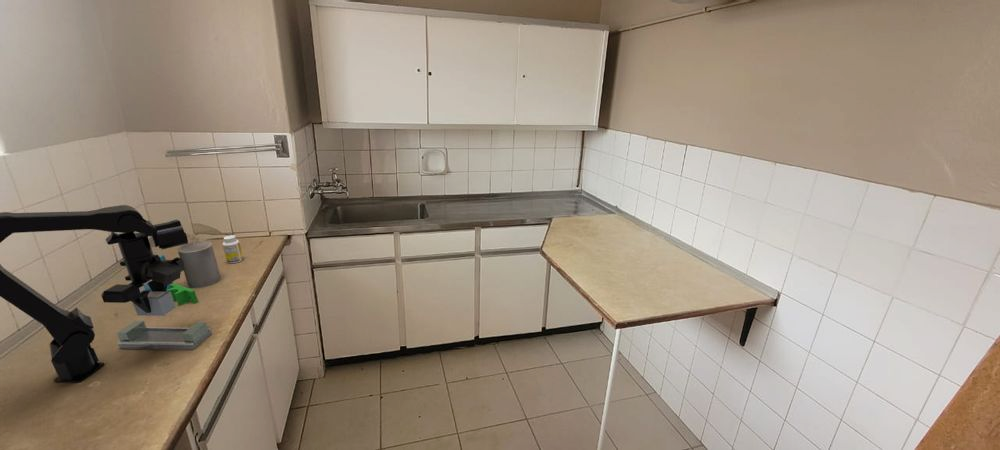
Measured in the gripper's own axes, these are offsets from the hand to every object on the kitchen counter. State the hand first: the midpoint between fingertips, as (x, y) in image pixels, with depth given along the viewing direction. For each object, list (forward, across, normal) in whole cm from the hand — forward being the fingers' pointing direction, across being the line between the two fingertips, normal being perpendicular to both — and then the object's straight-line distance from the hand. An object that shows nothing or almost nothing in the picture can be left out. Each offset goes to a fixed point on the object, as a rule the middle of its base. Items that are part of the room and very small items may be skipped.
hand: (155, 308), depth 106 cm
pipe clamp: (+11, +21, +12) cm, 26 cm away
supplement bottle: (+11, +51, +14) cm, 54 cm away
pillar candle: (+11, +34, +14) cm, 38 cm away
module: (+1, 0, 0) cm, 1 cm away
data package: (+11, +25, +23) cm, 36 cm away
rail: (+11, 0, 0) cm, 11 cm away
